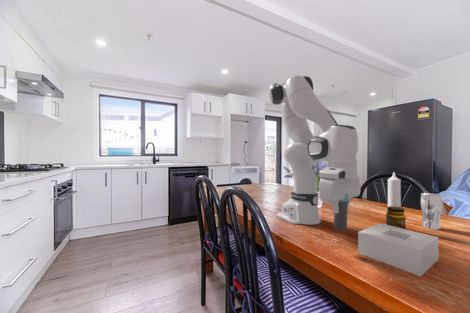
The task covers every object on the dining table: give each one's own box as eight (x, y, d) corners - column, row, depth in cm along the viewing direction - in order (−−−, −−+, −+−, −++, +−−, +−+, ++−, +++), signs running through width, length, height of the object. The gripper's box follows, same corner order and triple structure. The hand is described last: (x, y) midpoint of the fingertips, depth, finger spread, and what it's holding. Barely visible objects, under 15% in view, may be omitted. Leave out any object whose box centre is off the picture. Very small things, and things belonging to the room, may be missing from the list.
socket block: (358, 252, 68) (358, 232, 68) (379, 241, 77) (379, 223, 77) (420, 276, 55) (420, 250, 55) (438, 259, 63) (438, 237, 63)
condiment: (410, 242, 76) (410, 210, 76) (382, 239, 79) (382, 208, 79) (402, 235, 83) (402, 206, 83) (377, 232, 86) (377, 204, 86)
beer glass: (420, 227, 91) (420, 194, 91) (420, 223, 96) (420, 192, 96) (442, 231, 86) (442, 196, 86) (441, 227, 92) (441, 194, 91)
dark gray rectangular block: (331, 226, 71) (332, 192, 71) (337, 224, 74) (338, 191, 73) (342, 231, 68) (344, 195, 67) (349, 228, 70) (350, 193, 70)
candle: (408, 231, 87) (408, 172, 87) (389, 230, 89) (389, 172, 88) (398, 225, 94) (398, 171, 94) (381, 224, 95) (381, 171, 95)
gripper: (348, 169, 78) (347, 205, 79) (315, 172, 67) (314, 213, 67) (366, 171, 73) (364, 209, 74) (334, 174, 62) (332, 219, 62)
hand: (340, 211), depth 70 cm, fingers closed on dark gray rectangular block, 4 cm apart
